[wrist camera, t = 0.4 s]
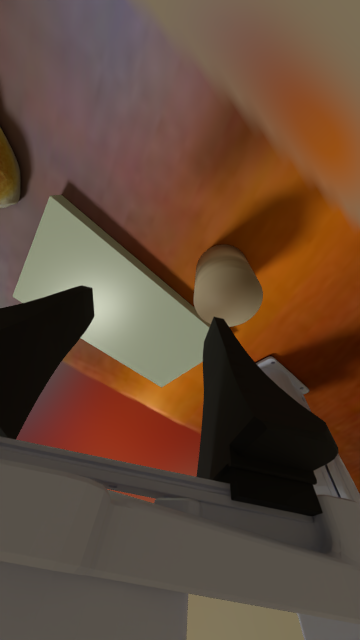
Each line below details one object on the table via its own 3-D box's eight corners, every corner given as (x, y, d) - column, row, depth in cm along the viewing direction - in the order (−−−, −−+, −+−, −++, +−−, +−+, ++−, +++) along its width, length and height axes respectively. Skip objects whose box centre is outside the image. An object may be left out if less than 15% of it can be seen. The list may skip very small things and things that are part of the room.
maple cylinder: (258, 269, 19) (276, 300, 14) (219, 301, 21) (223, 336, 16) (224, 232, 17) (231, 252, 12) (186, 271, 19) (180, 300, 15)
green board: (228, 336, 24) (229, 344, 23) (163, 379, 30) (161, 387, 29) (61, 194, 17) (50, 195, 15) (22, 290, 23) (12, 296, 22)
